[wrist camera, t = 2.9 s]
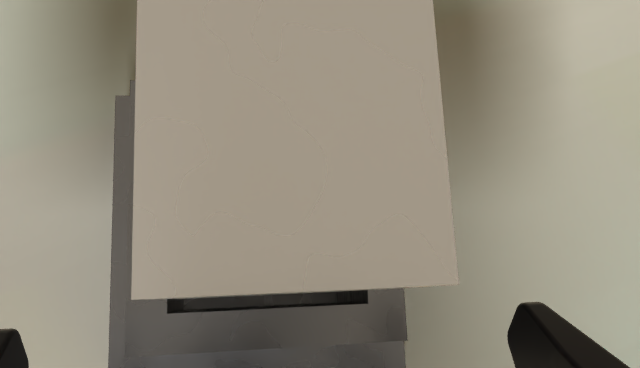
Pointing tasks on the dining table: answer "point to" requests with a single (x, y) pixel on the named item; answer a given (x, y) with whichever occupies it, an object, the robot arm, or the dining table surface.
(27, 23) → the dining table surface
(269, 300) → the stand base
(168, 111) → the column
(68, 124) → the dining table surface
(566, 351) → the robot arm
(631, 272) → the dining table surface
